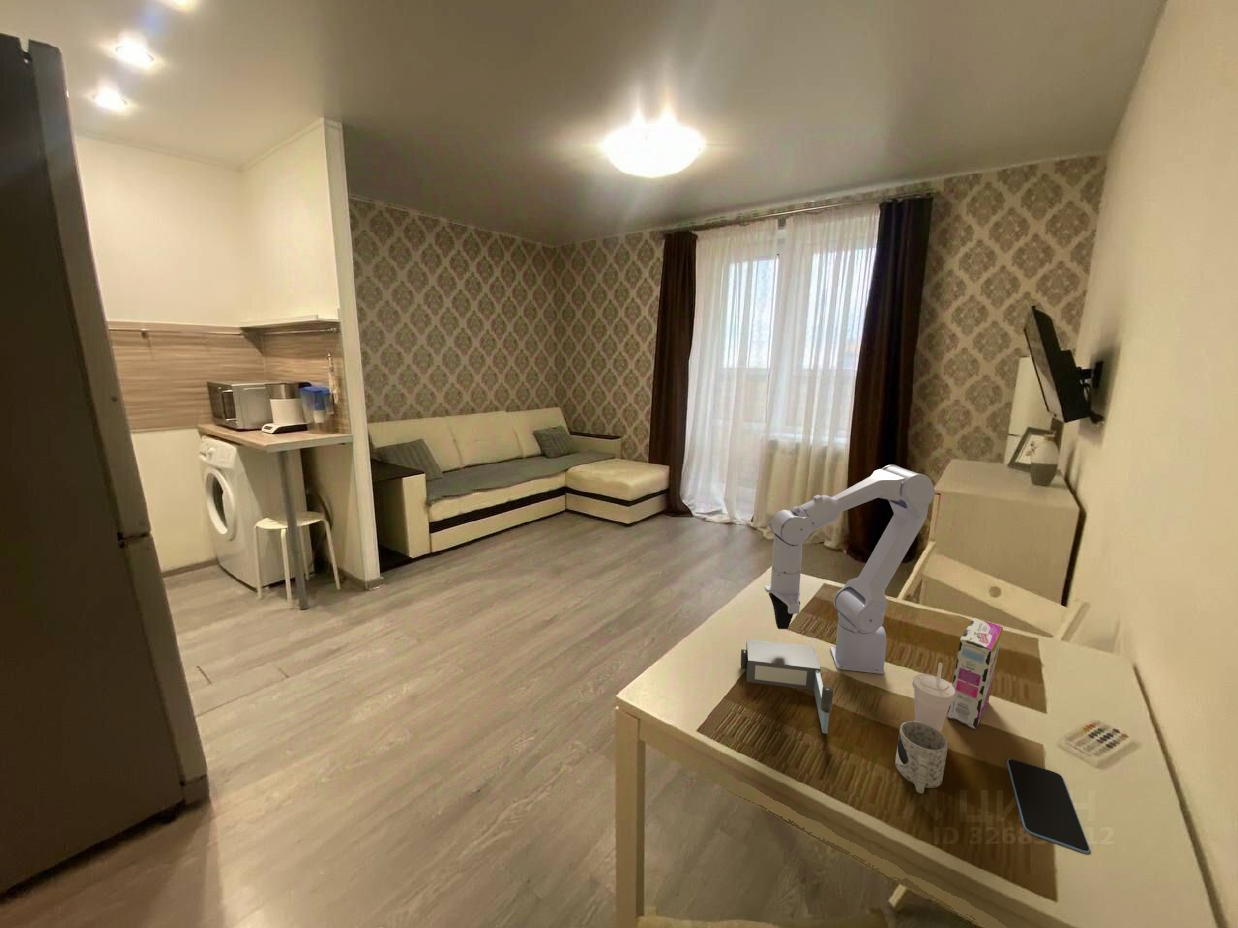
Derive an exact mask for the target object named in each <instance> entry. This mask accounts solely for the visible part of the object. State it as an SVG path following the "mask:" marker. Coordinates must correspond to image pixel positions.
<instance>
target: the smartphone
mask: <svg viewBox="0 0 1238 928" xmlns="http://www.w3.org/2000/svg"><path fill="white" fill-rule="evenodd" d="M1006 767H1007V770H1008V772H1009V777H1010V781H1011V785H1012V786H1011V787H1012V789H1013V793H1014V797H1015V800H1016V804H1017V808H1018V812H1019V816H1020V819H1021V823H1022V827H1023V829H1024V830H1025V832H1027V833H1028V834H1030V835H1032V836H1034V837H1037V838H1039V839H1042V840H1046V841H1048V842H1051V843H1054V844H1058V845H1061V846H1062V847H1065V848H1067V849H1068V848H1069V849H1072V850H1073V851H1076V852H1079V853H1082V854H1090V853H1091V848H1090V845H1089V843H1088V839H1087V838H1086V834H1085V832H1084V831H1085V830H1084V828H1083V826H1082V824H1081V821H1080V818H1079V816H1078V814H1077V810H1076V808H1075V806H1074V803H1073V802H1074V801H1073V800H1072V797H1071V795H1070V792H1069V788H1068V786H1067V785H1066V782H1065V779H1064V778H1063V776H1062V775H1061V774H1059V773H1058V772H1056V771H1053V770H1049V769H1046V768H1042V767H1040V766H1036V765H1034V764H1031V763H1027V762H1023V761H1019V760H1017V759H1013V758H1008V759H1007V760H1006Z"/></svg>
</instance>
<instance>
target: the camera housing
mask: <svg viewBox="0 0 1238 928" xmlns="http://www.w3.org/2000/svg"><path fill="white" fill-rule="evenodd" d="M745 646H746V647H745V648H746V649H744V648H743V649H742V648H741V651H740V669H741V670H745V671H746V683H753V684H761V685H771V686H779V687H786V688H794V689H801V690H802V689H803V690H809V691H814V682H815V671H816V670H819V671H820V672H821V666H820V662H819V659H818V656H817V652H816V648H815V645H806V644H797V643H789V642H788V643H787V642H777V641H769V640H768V641H767V640H759V639H751V638H746V645H745Z"/></svg>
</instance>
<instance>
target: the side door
mask: <svg viewBox="0 0 1238 928" xmlns="http://www.w3.org/2000/svg"><path fill="white" fill-rule="evenodd" d="M813 692H814V697H815V702H816V709H817V713H818V718H819V721H820V727H821V732H822V734H828V731H829V728H828V727H829V721H830V720H829V719H830V713H831V712H832V709H833V701H834V700H833V699H834V689H833V687H832V686H828V685H824V684H823V681H822V676H821V670H820V671H819V670H816V671H815V682H814V690H813Z"/></svg>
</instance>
